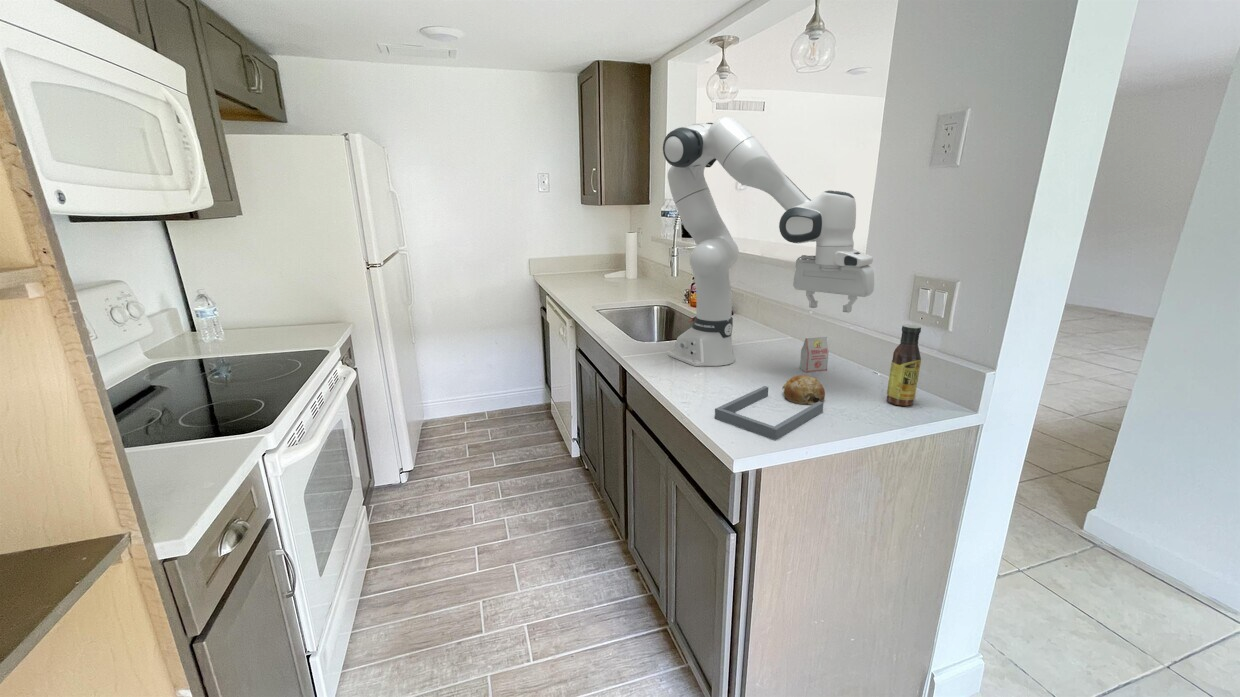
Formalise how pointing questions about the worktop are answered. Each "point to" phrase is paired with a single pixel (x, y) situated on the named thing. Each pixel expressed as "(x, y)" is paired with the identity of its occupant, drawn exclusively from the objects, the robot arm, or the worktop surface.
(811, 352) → the ivan chai tea box
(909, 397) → the sauce bottle
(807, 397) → the bread roll
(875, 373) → the worktop surface
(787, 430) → the slate bay
